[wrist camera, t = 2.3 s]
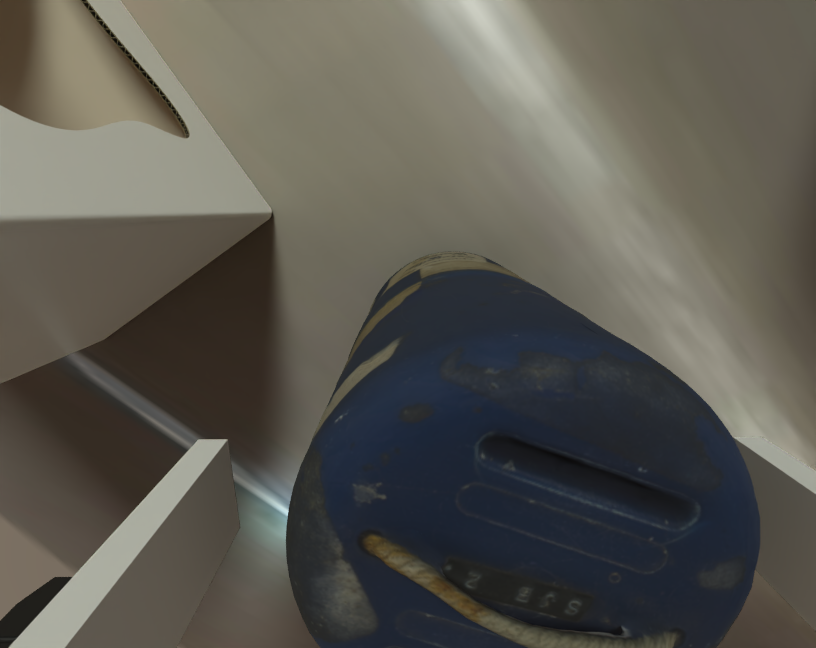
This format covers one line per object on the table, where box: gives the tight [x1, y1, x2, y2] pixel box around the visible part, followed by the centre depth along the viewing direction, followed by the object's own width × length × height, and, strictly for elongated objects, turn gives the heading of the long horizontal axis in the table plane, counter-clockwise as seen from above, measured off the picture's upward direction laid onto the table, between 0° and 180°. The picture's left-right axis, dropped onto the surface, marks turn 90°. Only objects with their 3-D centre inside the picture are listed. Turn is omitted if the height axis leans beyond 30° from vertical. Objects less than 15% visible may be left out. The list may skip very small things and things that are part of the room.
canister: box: [286, 252, 760, 648], centre depth 15 cm, size 10×10×18 cm
